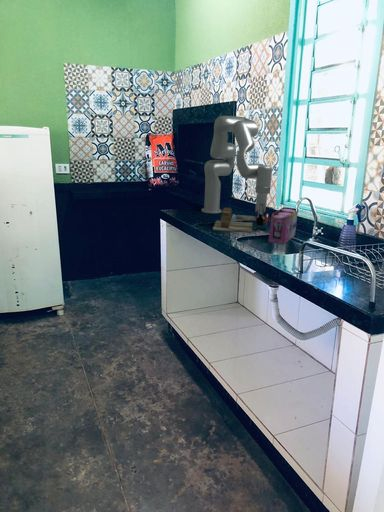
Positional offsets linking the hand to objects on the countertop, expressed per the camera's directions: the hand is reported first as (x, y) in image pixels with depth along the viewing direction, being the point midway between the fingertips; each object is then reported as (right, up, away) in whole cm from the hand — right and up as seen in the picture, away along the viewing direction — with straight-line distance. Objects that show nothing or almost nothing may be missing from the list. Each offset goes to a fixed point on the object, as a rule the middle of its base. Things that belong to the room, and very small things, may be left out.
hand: (259, 224), depth 216 cm
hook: (-4, 0, +1) cm, 4 cm away
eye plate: (-14, -1, +3) cm, 14 cm away
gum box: (+9, -8, -15) cm, 19 cm away
